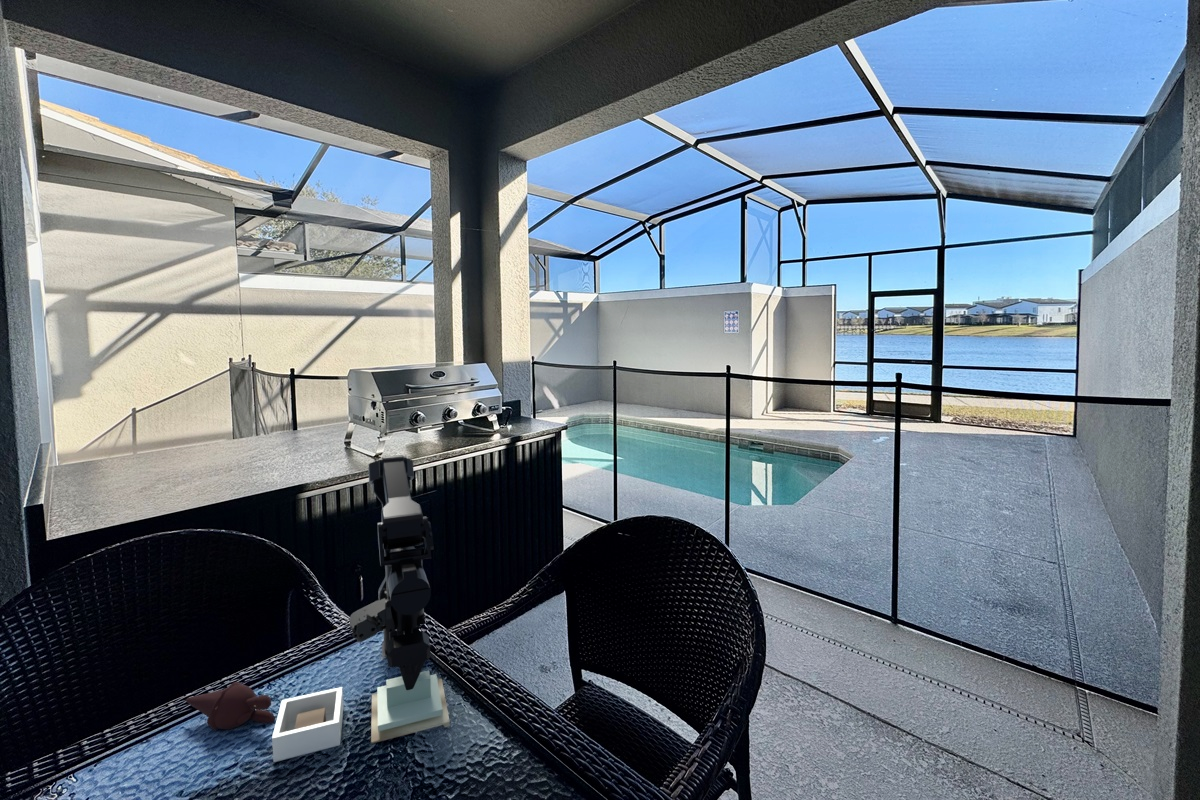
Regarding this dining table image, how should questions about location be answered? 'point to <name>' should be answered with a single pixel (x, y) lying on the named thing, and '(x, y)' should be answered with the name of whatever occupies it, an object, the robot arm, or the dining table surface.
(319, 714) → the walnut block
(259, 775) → the dining table surface
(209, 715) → the brown gnome figurine
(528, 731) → the dining table surface
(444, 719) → the board
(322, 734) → the box
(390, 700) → the lid
